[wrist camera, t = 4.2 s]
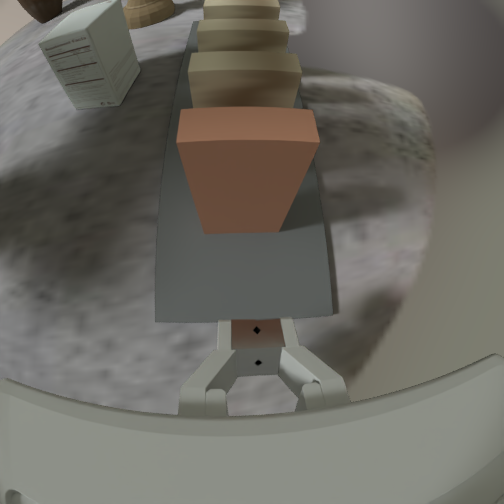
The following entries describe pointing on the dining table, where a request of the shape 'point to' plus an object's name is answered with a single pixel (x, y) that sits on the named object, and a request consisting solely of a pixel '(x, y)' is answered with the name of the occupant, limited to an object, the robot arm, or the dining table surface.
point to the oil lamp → (147, 12)
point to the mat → (235, 248)
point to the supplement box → (93, 55)
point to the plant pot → (42, 8)
